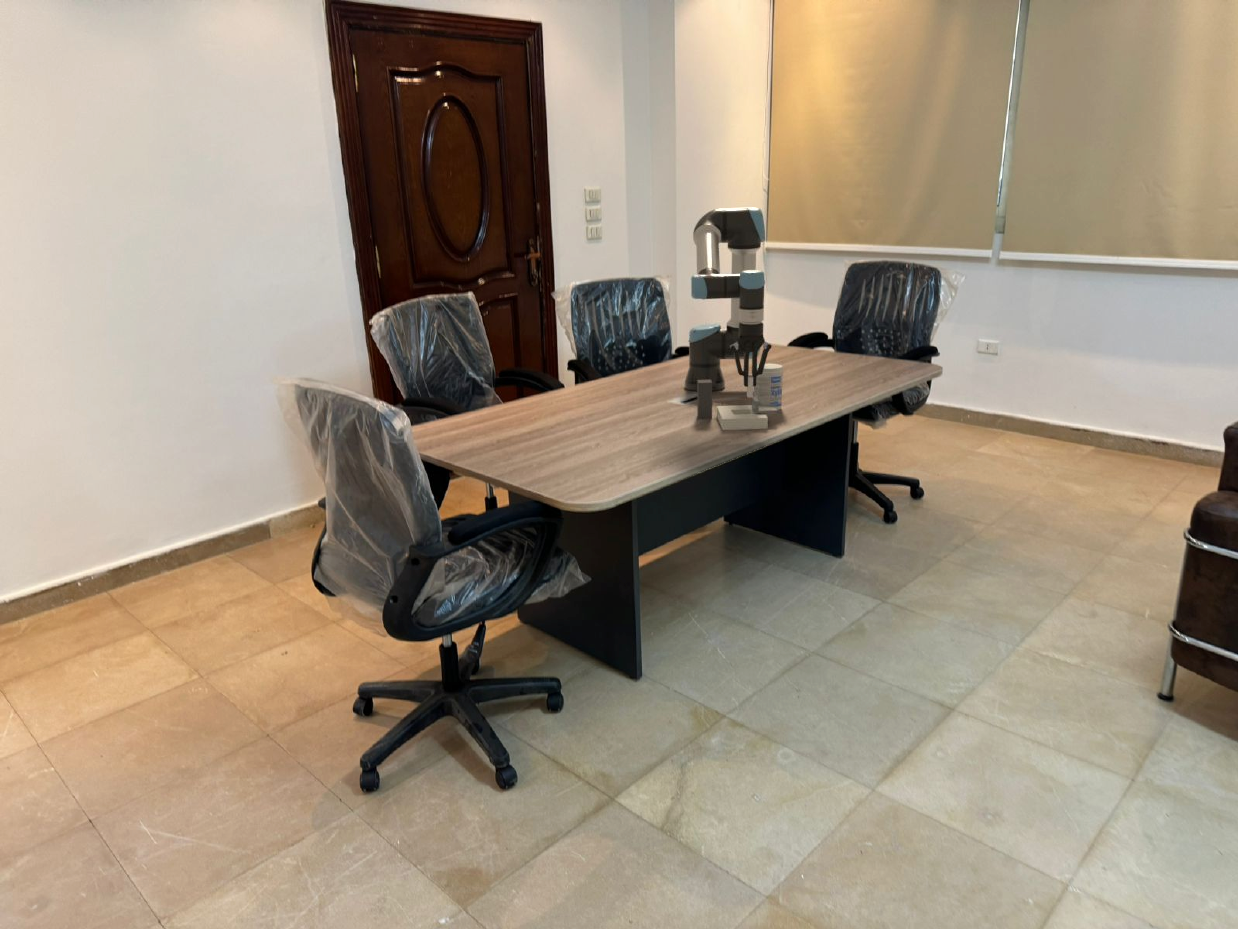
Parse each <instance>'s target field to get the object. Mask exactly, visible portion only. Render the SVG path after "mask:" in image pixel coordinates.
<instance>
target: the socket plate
mask: <svg viewBox="0 0 1238 929" xmlns="http://www.w3.org/2000/svg"><path fill="white" fill-rule="evenodd" d="M716 418H717V421H718V423H719V424H720V427H721V430H722V431H734V430H735V431H737V430H738V431H739V430H761V429H762V430H764V429H765V430H767V429H768V426H769V424H768V423H769V422H768V421H769V418H768V415H767V413H754V411H753V409H752V404H747V405H746V404H745V405H744V404H741V405H717V406H716Z"/></svg>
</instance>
